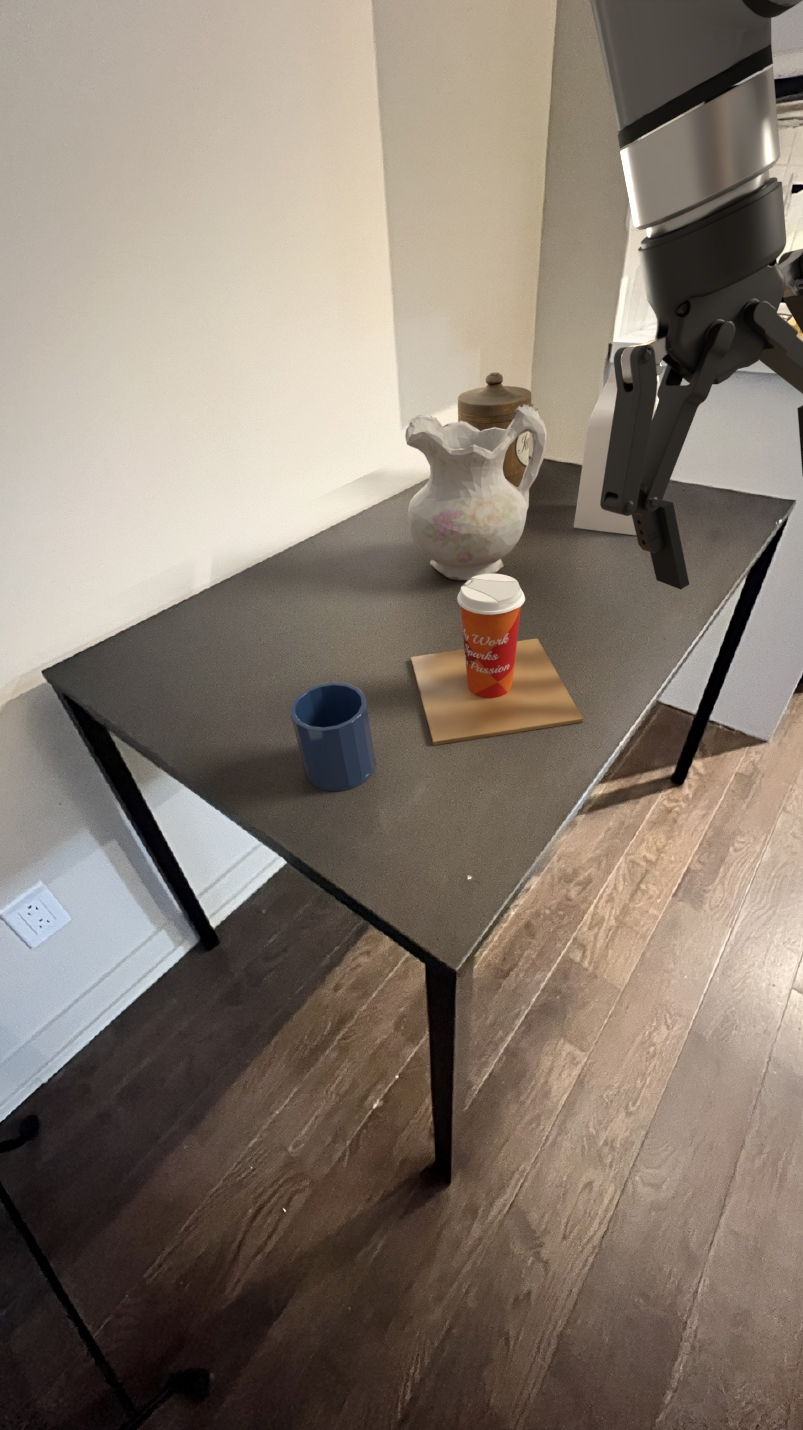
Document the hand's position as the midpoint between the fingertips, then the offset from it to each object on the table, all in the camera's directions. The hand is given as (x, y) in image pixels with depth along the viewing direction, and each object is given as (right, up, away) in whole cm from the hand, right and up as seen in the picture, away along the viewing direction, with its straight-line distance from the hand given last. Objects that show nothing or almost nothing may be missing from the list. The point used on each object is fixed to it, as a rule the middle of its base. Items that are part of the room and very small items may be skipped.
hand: (748, 537), depth 47 cm
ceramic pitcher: (-13, +13, +61) cm, 64 cm away
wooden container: (-6, +36, +88) cm, 96 cm away
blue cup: (-33, -19, +25) cm, 46 cm away
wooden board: (-15, -10, +33) cm, 38 cm away
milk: (+14, +23, +70) cm, 75 cm away
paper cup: (-15, -10, +33) cm, 38 cm away
